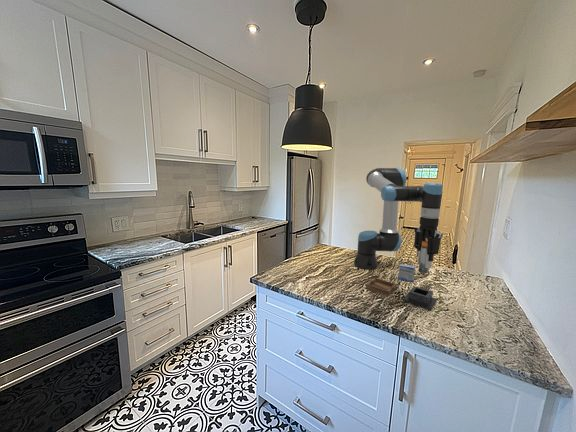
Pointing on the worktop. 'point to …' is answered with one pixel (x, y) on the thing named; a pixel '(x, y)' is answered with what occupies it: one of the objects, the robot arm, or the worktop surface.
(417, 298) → the block
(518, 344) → the worktop surface
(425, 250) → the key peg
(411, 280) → the medicine box
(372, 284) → the tray
